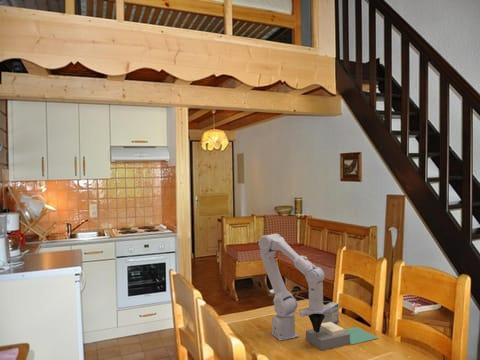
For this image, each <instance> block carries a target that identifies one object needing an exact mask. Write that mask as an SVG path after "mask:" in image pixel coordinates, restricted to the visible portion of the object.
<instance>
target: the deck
mask: <svg viewBox="0 0 480 360" xmlns="http://www.w3.org/2000/svg"><path fill="white" fill-rule="evenodd" d="M305 340H306V341H307V342H309V343H310V344H312V346H314V347H315V348H317V349H319V350H320V351H322V352H323V351H326V350H331V349H335V348H339V347H343V346H347V345H351V344H350V334H349V333H347V332H345V331H344V334H343V335H338V336H334V337H332V336H330V335H329V334H327V333H325V332H324V331H322V330H320V331H319V332H318V333H316V332H315V331H314V330H313V328H311V329H306V330H305Z"/></svg>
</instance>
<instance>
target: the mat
mask: <svg viewBox="0 0 480 360" xmlns="http://www.w3.org/2000/svg"><path fill="white" fill-rule="evenodd" d="M344 331H345V332H347V333H349V334H350V344H349V345H351V346H353V345H357V344H361V343H367V342H370V341H375V340H378V339H379V337H377V336H375V335H373V334H372V333H369V332H367V331H365V330H363V329H362V328H360V327H357V326H356V327H351V328H346V329H344Z"/></svg>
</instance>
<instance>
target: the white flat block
mask: <svg viewBox="0 0 480 360" xmlns="http://www.w3.org/2000/svg"><path fill="white" fill-rule="evenodd" d="M320 330H322V331H324V332H325V333H327V334H329V335H330V336H332V337H334V336H338V335H343V334H344V330H345V329H344V328H343V327H341V326H339V325H337V323H336V324H334V323H332V322H327V323H324V322H322V323H321V327H320Z"/></svg>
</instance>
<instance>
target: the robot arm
mask: <svg viewBox="0 0 480 360" xmlns="http://www.w3.org/2000/svg"><path fill="white" fill-rule="evenodd" d="M257 244H258V247H259V252H260V253H259V254H260V258H261V261H262V264H263V267H264V270H265V272H266V274H267V277H268V279H269V282H270V285H271V287H272V290H273V292H274V297H273V300H272V301H273V305H274V307H273V308H274V311H275V314H276V315H275V316H273V317H272V319H271V335H272V336H273V337H274V338H276V339H277V340H279V341H285V340H290V339H294V338H298V337H299V336H300V335H299V334H297V333H296V330H295V328H296V327H295V326H296V323H295V322H296V321H295V320H296V319H295V314H296V310H297V309H298V306H299V305H298V301H297V299H296V298H295V297H294V295H293V294H292V293H291V292H290V291H289V290H287V287H286V284H285V282H284V279H283V277H282V274H281V272H280V269H279V267H278V264H277V262H276V259H275V257H274V256H275V254H276V251H280V252H281V253H282V254H284V255H285V256H286V257H288V259H290V260H291V261H292V262H293V266H294V267H295V269H297V270H299V272H301V273H302V275H303V276H305V281H306V282H307V285H308V308H305V309H302V310H299V317H301V318H304V317H307V316H308V318H309V320H310V322H311V325H312V329H313V330H314V331H315V332H316V333H318V332H319V331H320V327H321V324H322V323H323V322H324V320H323V319H324V318H325V315H324V314H323V313H324V312H332V307H331V306H325V305H324V283H323V282H324V280H325V277H326V273H325V271H324V270H323V269H322V267H320V266H316V264H313V263H312V262H311V261H310V260H308V257H307V256H305V255H299V254H298V253H297V252H296V251H295V250H294V249H293V248H292V247H291V246H290V245H289V244H288V243H287V242H286V240H285V238H284V237H282V236H281V235H280V234H279V233H271V234H266V235H265V234H264V235H262V236H261V237H260V238H259V241H258V242H257Z"/></svg>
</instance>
